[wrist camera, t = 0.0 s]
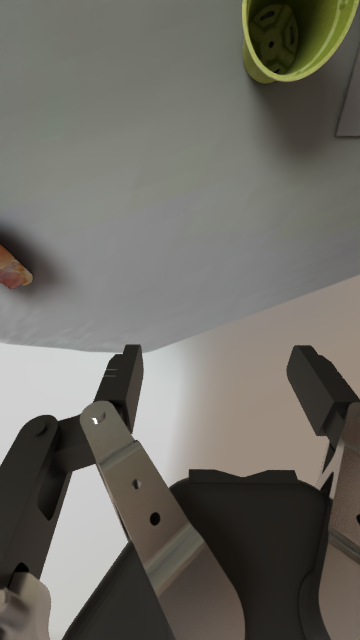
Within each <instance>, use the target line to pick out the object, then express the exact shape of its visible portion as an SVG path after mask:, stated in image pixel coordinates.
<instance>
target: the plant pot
mask: <svg viewBox="0 0 360 640" xmlns="http://www.w3.org/2000/svg"><path fill="white" fill-rule="evenodd" d="M358 3H359V0H243V4H242V26H243V33H244V40H243V52H242V54H243V62H244V65H245V68H246V70H247V73H248V74H249V75H250V76H251V77H252V78H253V79H254V80H256V81H257V82H259V83H264V84H266V83H271V82H274V81H280V82H292V81H297V80H300V79H303V78H305V77H307V76H309V75H310V74H312V73H314V72H315V71H316V70H318V69H319V68H320V67H321V66H322V65H324V64H325V63H326V62H327V61H328V60H329V58H330V57H331V56H332V55H333V54H334V52H335V51H336V50H337V48H338V47H339V45H340V44H341V42H342V41H343V39H344V37H345V35H346V34H347V32H348V30H349V28H350V26H351V23H352V21H353V19H354V16H355V13H356V10H357V7H358ZM270 11H273V12H274V15H273V16H270V17H268V18H266V19H264V20H263V21H261V17H262V16H263V15H265V14H267V13H268V12H270ZM290 27H291V28H292V29H293V32H294V42H293V44H291V33H290V31H291V30H290ZM270 42H273V43H274V45H273V47H272V48H269V43H270ZM278 69H279V73H277V74H275V73H273V72H274V71H276V70H278Z"/></svg>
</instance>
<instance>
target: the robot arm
mask: <svg viewBox="0 0 360 640" xmlns="http://www.w3.org/2000/svg"><path fill="white" fill-rule="evenodd" d="M143 370H144V369H143V359H142V350H141V345H126V346H125V349H124V352H123V354H116V355H115V356H114V357H113V358H112V359H111V360H110V361H109V363H108V365H107V368H106V371H105V373H104V377H103V378H102V381H101V383H100V386H99V389H98V391H97V394H96V397H95V399H94V401H93V403H92V404H90V405H88V406H87V407H86V408H85V409H84V410H83V412H82V413H81V414H80V415H77V416H75V417H71V418H67V419H64V420H60V421H57V419H56V418H55V417H54V416H51V415H42V416H38V417H36V418H34V419H32V420H30V421H29V422H27V423H26V424H25V425H24V426H23V428H22V429H21V430H20V432H19V433H18V435H17V437H16V439H15V441H14V443H13V445H12V446H11V448H10V450H9V451H8V453H7V455H6V457H5V459H4V460H3V462H2V464H1V466H0V640H50V638H49V632H48V622H49V615H50V609H51V597H50V593H49V590H48V588H47V587H46V586H45V585H44V584H43V583H41V582H40V581H39V579H40V576H41V573H42V570H43V567H44V563H45V560H46V557H47V553H48V550H49V547H50V544H51V540H52V537H53V534H54V531H55V527H56V524H57V521H58V518H59V515H60V511H61V508H62V505H63V501H64V498H65V495H66V492H67V488H68V485H69V482H70V478H71V475H72V472H73V471H75V470H78V469H81V468H84V467H87V466H90V465H93V464H96V466H97V469H98V471H99V473H100V476H101V478H102V480H103V483H104V485H105V487H106V490H107V492H108V494H109V497H110V499H111V502H112V504H113V507H114V509H115V511H116V514H117V516H118V519H119V521H120V524H121V526H122V528H123V531H124V533H125V535H126V538H127V540H128V543H127V545H126V547H125V548H124V549H123V550H122V552H121V553H120V555H119V556H118V558H117V559H116V561H115V562H114V563H113V565H112V566H111V568H110V569H109V571H108V572H107V573H106V575H105V576H104V578H103V579H102V581H101V582H100V583H99V585H98V587H97V588H96V589H95V591H94V592H93V594H92V595H91V596H90V598H89V599H88V601H87V602H86V603H85V605H84V606H83V608H82V609H81V611H80V612H79V614H78V615H77V616H76V618H75V619H74V621H73V622H72V624H71V625H70V627H69V628H68V630H67V631H66V633H65V635H64V637H63V639H62V640H360V399H359V398H358V396H357V395H356V394H355V393H354V391H353V390H352V389H351V387H350V386H349V385H348V384H347V382H346V381H345V379H343V378H342V376H341V374H340V373H339V372H337V369H336V368H335V366H334V365H333V364H332V363H331V362H330V361H329V360H327V359H326V358H325V357H323V356H322V355H318V354H317V352H316V351H315V350H314V348H313V347H312V346H310V345H305V346H304V345H302V346H301V345H296V346H294V347H293V350H292V353H291V356H290V359H289V362H288V365H287V377H288V380H289V382H290V384H291V386H292V388H293V390H294V392H295V394H296V396H297V398H298V400H299V402H300V404H301V405H302V408H303V410H304V412H305V414H306V416H307V418H308V420H309V421H310V424H311V426H312V428H313V430H314V432H315V434H316V435H317V436H327V437H328V439H329V442H328V444H327V447H326V451H325V455H324V459H323V462H322V466H321V470H320V474H319V477H318V480H317V483H316V485H315V487H314V486H312V485H310V484H308V483H306V482H303V481H301V480H298V479H297V476H296V473H295V471H294V470H267V471H264V472H261V473H257V474H254V475H251V476H247V477H239V476H235V475H232V474H228V473H225V472H221V471H217V470H203V469H201V470H200V469H196V470H195V469H189V477H188V478H185V479H183V480H180V481H178V482H176V483H175V484H173V485H172V486H170V487H169V488H168V487H167V485H166V483H165V482H164V480H163V479H162V477H161V475H160V474H159V472H158V470H157V469H156V467H155V466H154V464H153V462H152V461H151V459H150V458H149V456H148V454H147V453H146V451H145V450H144V448H143V446H142V445H141V443H140V442H139V441H137V440H136V441H135V440H134V438H133V437H132V435H131V434H132V432H133V427H134V422H135V416H136V411H137V406H138V400H139V396H140V391H141V385H142V380H143Z"/></svg>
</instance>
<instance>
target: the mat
mask: <svg viewBox="0 0 360 640" xmlns="http://www.w3.org/2000/svg"><path fill="white" fill-rule="evenodd" d="M335 136H360V44H359V48H358V52H357V55H356V59H355V63H354V67H353V70H352V74H351V78H350V81H349V85H348V89H347V92H346V96H345V100H344V103H343V107H342V111H341V114H340V118H339V122H338V125H337V129H336V133H335Z"/></svg>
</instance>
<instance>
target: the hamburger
mask: <svg viewBox="0 0 360 640" xmlns="http://www.w3.org/2000/svg"><path fill="white" fill-rule="evenodd" d="M32 280H33V278H32V274H31V273H30V272H29V271H28V270H27V269H25V268H24V267H23V266H22V265H21V264H20V263H19V262H18V261H17V260H16V259H15V260H14V257H13V256H12V255H11V254H10V253H9V252H8V251H7V250H6V249H4V248H3V247H2V246H1V245H0V283H2V284H4V285H6V286H7V287H8V288H9V289H14V288H16V287H17V286H19V285H21V286H25V285H28V284H30V283H31V282H32Z"/></svg>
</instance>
